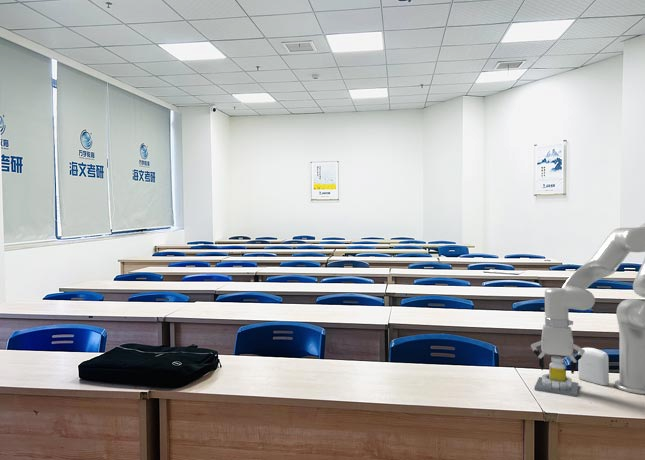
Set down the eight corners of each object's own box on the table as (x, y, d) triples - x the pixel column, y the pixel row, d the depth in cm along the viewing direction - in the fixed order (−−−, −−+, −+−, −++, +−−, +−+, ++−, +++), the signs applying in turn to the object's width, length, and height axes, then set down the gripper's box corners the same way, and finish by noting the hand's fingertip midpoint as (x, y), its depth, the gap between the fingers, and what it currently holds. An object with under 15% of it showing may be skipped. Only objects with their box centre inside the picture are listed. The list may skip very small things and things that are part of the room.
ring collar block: (578, 385, 170) (578, 375, 170) (576, 396, 159) (576, 386, 159) (539, 379, 176) (539, 370, 176) (534, 389, 165) (534, 380, 165)
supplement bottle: (568, 388, 164) (568, 360, 164) (551, 387, 165) (551, 359, 165) (563, 383, 170) (563, 356, 170) (547, 382, 171) (547, 355, 171)
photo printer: (576, 379, 177) (576, 346, 177) (582, 377, 179) (582, 344, 179) (604, 386, 168) (604, 352, 168) (610, 384, 171) (610, 350, 170)
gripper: (584, 323, 166) (585, 371, 166) (531, 319, 175) (532, 364, 175) (583, 327, 160) (584, 377, 160) (529, 322, 169) (529, 370, 169)
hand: (557, 370), depth 168 cm, fingers open, 9 cm apart
